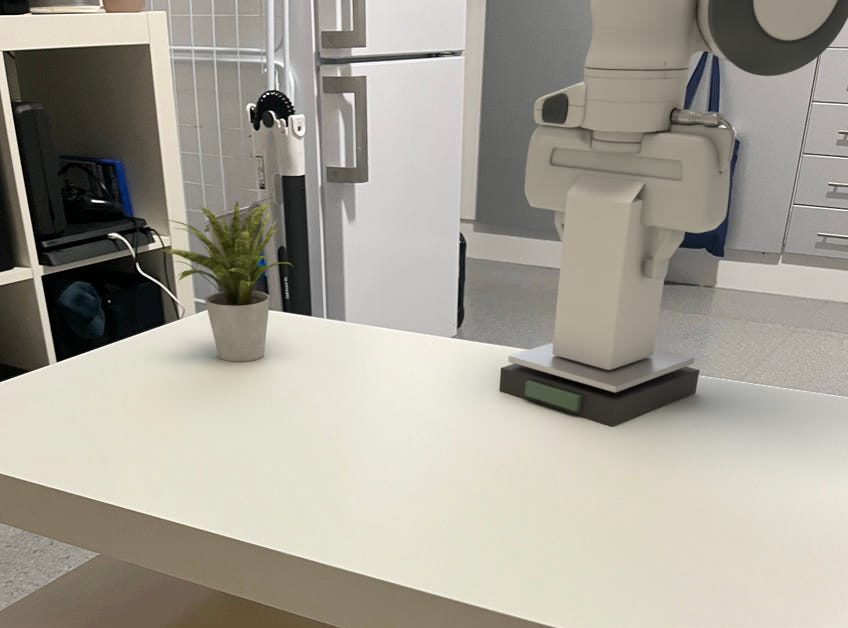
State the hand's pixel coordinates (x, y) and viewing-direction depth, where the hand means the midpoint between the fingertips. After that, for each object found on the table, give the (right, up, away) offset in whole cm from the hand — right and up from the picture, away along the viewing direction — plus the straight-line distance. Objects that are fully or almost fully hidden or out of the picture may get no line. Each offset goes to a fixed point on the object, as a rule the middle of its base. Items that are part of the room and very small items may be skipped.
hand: (611, 269), depth 96 cm
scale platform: (0, -8, +5) cm, 9 cm away
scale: (0, -10, +6) cm, 12 cm away
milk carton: (0, -7, +5) cm, 9 cm away
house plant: (-38, -3, +19) cm, 42 cm away
